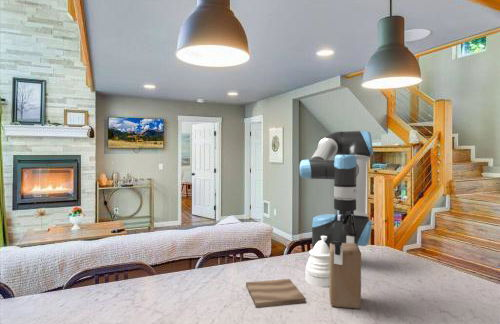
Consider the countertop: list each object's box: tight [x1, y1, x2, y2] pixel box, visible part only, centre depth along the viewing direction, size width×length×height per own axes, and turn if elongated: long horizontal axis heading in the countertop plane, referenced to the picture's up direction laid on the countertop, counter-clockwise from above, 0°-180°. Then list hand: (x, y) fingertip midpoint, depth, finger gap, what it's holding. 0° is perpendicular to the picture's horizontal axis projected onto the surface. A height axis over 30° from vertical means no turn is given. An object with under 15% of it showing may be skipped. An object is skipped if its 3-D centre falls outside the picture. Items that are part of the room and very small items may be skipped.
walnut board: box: [245, 278, 307, 308], centre depth 121 cm, size 18×18×2 cm
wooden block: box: [328, 243, 362, 309], centre depth 114 cm, size 10×10×20 cm
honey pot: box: [304, 236, 330, 288], centre depth 133 cm, size 13×13×18 cm
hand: (344, 258), depth 113 cm, fingers open, 13 cm apart
